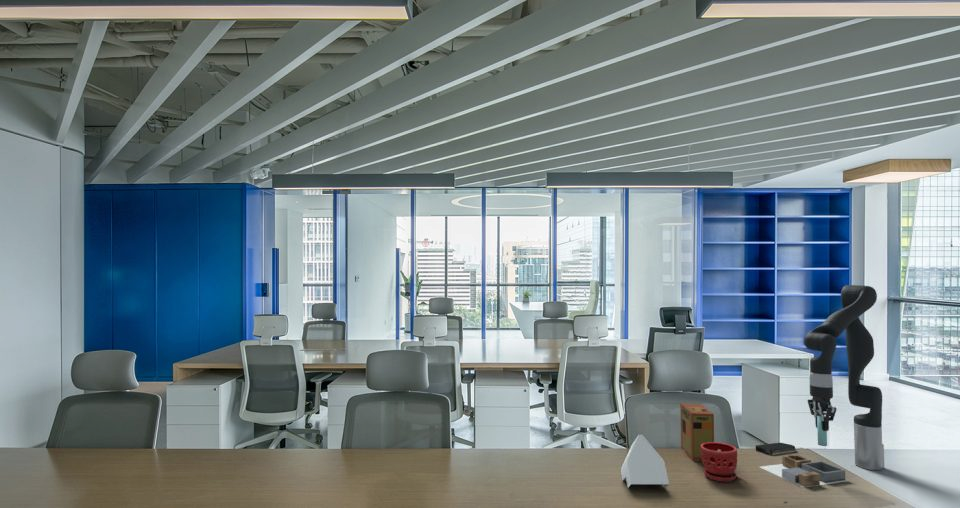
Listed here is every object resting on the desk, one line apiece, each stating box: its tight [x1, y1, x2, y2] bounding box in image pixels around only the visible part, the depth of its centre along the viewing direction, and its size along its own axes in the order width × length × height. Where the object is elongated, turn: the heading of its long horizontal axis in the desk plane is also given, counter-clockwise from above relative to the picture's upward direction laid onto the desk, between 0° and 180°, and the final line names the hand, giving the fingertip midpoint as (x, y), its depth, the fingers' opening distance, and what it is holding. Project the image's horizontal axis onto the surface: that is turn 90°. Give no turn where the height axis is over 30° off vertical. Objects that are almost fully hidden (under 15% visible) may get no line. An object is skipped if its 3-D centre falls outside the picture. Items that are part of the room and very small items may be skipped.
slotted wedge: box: [620, 434, 670, 489], centre depth 194 cm, size 14×11×18 cm
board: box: [759, 463, 848, 488], centre depth 199 cm, size 22×20×1 cm
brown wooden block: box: [799, 472, 821, 488], centre depth 189 cm, size 7×2×4 cm, turn 105°
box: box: [679, 403, 715, 462], centre depth 224 cm, size 17×9×20 cm, turn 174°
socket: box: [781, 453, 812, 469], centre depth 205 cm, size 7×7×4 cm
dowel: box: [816, 415, 828, 447], centre depth 197 cm, size 3×3×11 cm
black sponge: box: [755, 442, 797, 456], centre depth 226 cm, size 16×8×4 cm, turn 108°
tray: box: [801, 460, 846, 483], centre depth 196 cm, size 10×10×4 cm
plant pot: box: [701, 441, 738, 483], centre depth 199 cm, size 13×13×12 cm
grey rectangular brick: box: [782, 467, 808, 484], centre depth 194 cm, size 8×6×3 cm
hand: (822, 429), depth 197 cm, fingers closed on dowel, 3 cm apart
